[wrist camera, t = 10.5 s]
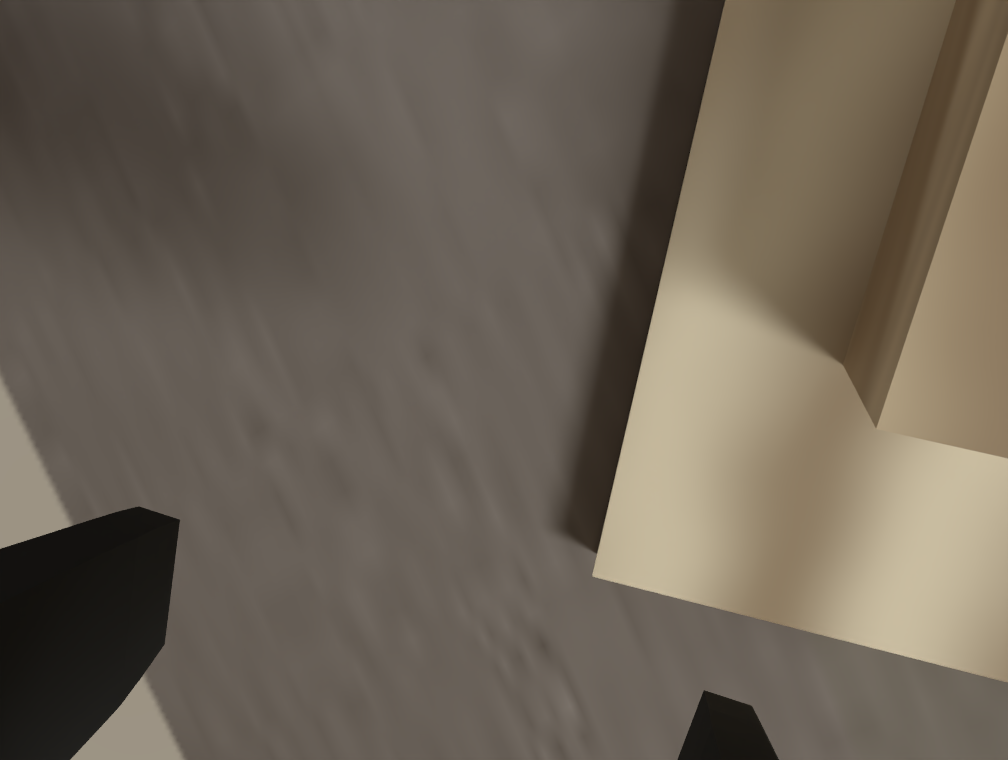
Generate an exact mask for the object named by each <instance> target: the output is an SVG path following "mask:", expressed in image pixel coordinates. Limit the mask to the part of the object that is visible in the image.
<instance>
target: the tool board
mask: <svg viewBox="0 0 1008 760" xmlns="http://www.w3.org/2000/svg"><path fill="white" fill-rule="evenodd" d="M955 2H956V0H725V3H724V7H723V12H722V16H721V20H720V25H719V29H718V33H717V38H716V42H715V46H714V51H713V55H712V59H711V63H710V68H709V72H708V76H707V81H706V85H705V89H704V94H703V98H702V102H701V107H700V111H699V115H698V120H697V124H696V128H695V133H694V137H693V141H692V146H691V150H690V154H689V159H688V163H687V167H686V172H685V176H684V180H683V185H682V189H681V193H680V198H679V202H678V206H677V210H676V215H675V219H674V223H673V228H672V232H671V236H670V241H669V245H668V249H667V254H666V258H665V262H664V267H663V271H662V275H661V280H660V284H659V288H658V293H657V297H656V301H655V306H654V310H653V314H652V319H651V323H650V327H649V332H648V336H647V340H646V345H645V349H644V353H643V357H642V362H641V366H640V370H639V375H638V379H637V383H636V388H635V392H634V396H633V401H632V405H631V409H630V414H629V418H628V422H627V427H626V431H625V435H624V440H623V444H622V448H621V453H620V457H619V461H618V466H617V470H616V474H615V479H614V483H613V487H612V492H611V496H610V500H609V504H608V509H607V513H606V517H605V522H604V526H603V530H602V535H601V539H600V543H599V548H598V552H597V556H596V561H595V566H594V570H593V575H592V576H593V577H596V578H600V579H604V580H608V581H612V582H616V583H620V584H624V585H628V586H632V587H636V588H640V589H644V590H647V591H651V592H655V593H659V594H663V595H667V596H671V597H675V598H679V599H683V600H687V601H691V602H695V603H698V604H702V605H706V606H710V607H714V608H718V609H722V610H726V611H730V612H734V613H738V614H742V615H746V616H749V617H753V618H757V619H761V620H765V621H769V622H773V623H777V624H781V625H785V626H789V627H793V628H797V629H800V630H804V631H808V632H812V633H816V634H820V635H824V636H828V637H832V638H836V639H840V640H844V641H848V642H851V643H855V644H859V645H863V646H867V647H871V648H875V649H879V650H883V651H887V652H891V653H895V654H898V655H902V656H906V657H910V658H914V659H918V660H922V661H926V662H930V663H934V664H938V665H942V666H946V667H949V668H953V669H957V670H961V671H965V672H969V673H973V674H977V675H981V676H985V677H989V678H993V679H997V680H1000V681H1004V682H1008V458H1004V457H999V456H995V455H990V454H986V453H981V452H977V451H972V450H968V449H963V448H959V447H954V446H950V445H945V444H941V443H936V442H932V441H927V440H923V439H918V438H914V437H910V436H905V435H901V434H896V433H892V432H887V431H883V430H878V429H876V428H875V426H874V424H873V422H872V420H871V418H870V416H869V414H868V412H867V410H866V409H865V407H864V405H863V403H862V401H861V399H860V397H859V395H858V393H857V391H856V389H855V387H854V385H853V384H852V382H851V380H850V378H849V376H848V374H847V372H846V370H845V368H844V366H843V362H844V359H845V356H846V353H847V349H848V346H849V343H850V340H851V337H852V333H853V330H854V327H855V324H856V320H857V317H858V314H859V311H860V308H861V304H862V301H863V298H864V295H865V291H866V288H867V285H868V282H869V279H870V275H871V272H872V269H873V266H874V262H875V259H876V256H877V253H878V250H879V246H880V243H881V240H882V237H883V234H884V230H885V227H886V224H887V221H888V217H889V214H890V211H891V208H892V205H893V201H894V198H895V195H896V192H897V188H898V185H899V182H900V179H901V176H902V172H903V169H904V166H905V163H906V159H907V156H908V153H909V150H910V147H911V143H912V140H913V137H914V134H915V131H916V127H917V124H918V121H919V118H920V114H921V111H922V108H923V105H924V102H925V98H926V95H927V92H928V89H929V85H930V82H931V79H932V76H933V73H934V69H935V66H936V63H937V60H938V57H939V53H940V50H941V47H942V44H943V40H944V37H945V34H946V31H947V28H948V24H949V21H950V18H951V15H952V11H953V8H954V5H955Z"/></svg>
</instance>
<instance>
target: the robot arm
mask: <svg viewBox="0 0 1008 760" xmlns="http://www.w3.org/2000/svg"><path fill="white" fill-rule="evenodd" d="M179 522H180V520H179V519H176V518H173V517H170V516H167V515H163V514H160V513H157V512H154V511H151V510H148V509H145V508H142V507H135V508H131V509H127V510H123V511H119V512H115V513H112V514H109V515H105V516H102V517H99V518H96V519H92V520H89V521H86V522H83V523H80V524H77V525H74V526H71V527H68V528H64V529H61V530H58V531H55V532H52V533H49V534H46V535H43V536H40V537H36V538H33V539H30V540H27V541H24V542H21V543H18V544H14V545H11V546H8V547H5V548H2V549H0V760H70V759H71V758H72V757H73V756H74V755H75V754H76V753H77V752H78V750H80V748H81V747H82V746H83V745H84V744H85V743H86V742H87V741H88V740H89V739H90V738H91V737H92V736H93V735H94V733H95V732H96V731H97V730H98V729H99V728H100V727H101V726H102V725H103V724H104V723H105V722H106V721H107V720H108V718H109V717H110V716H111V715H112V714H113V713H114V712H115V711H116V710H117V709H118V707H119V706H120V705H121V704H122V702H123V701H124V700H125V698H126V697H127V696H128V694H129V693H130V692H131V690H132V689H133V688H134V686H135V685H136V684H137V682H138V681H139V680H140V678H141V677H142V676H143V674H144V673H145V671H146V670H147V668H148V667H149V666H150V664H151V663H152V661H153V660H154V658H155V657H156V656H157V654H158V653H159V651H160V650H161V649H162V647H163V646H164V644H165V636H166V628H167V620H168V612H169V604H170V596H171V588H172V579H173V571H174V563H175V555H176V547H177V539H178V531H179ZM678 760H779V759H778V757H777V755H776V753H775V751H774V749H773V747H772V745H771V743H770V741H769V739H768V737H767V735H766V733H765V731H764V729H763V727H762V725H761V723H760V721H759V719H758V717H757V715H756V713H755V711H754V709H753V707H752V706H751V705H748V704H744V703H741V702H738V701H735V700H732V699H729V698H726V697H723V696H720V695H717V694H714V693H711V692H708V691H705V690H704V692H703V694H702V697H701V699H700V702H699V705H698V707H697V710H696V713H695V715H694V718H693V720H692V723H691V726H690V728H689V731H688V734H687V736H686V739H685V741H684V744H683V747H682V749H681V752H680V755H679V757H678Z"/></svg>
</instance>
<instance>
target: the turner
mask: <svg viewBox="0 0 1008 760" xmlns="http://www.w3.org/2000/svg"><path fill="white" fill-rule="evenodd" d="M843 366H844V368H845V370H846V372H847V374H848V376H849V378H850V380H851V382H852V384H853V385H854V387H855V389H856V391H857V393H858V395H859V397H860V399H861V401H862V403H863V405H864V407H865V409H866V410H867V412H868V414H869V416H870V418H871V420H872V422H873V424H874V426H875V428H876V429H878V430H883V431H887V432H892V433H896V434H901V435H905V436H910V437H914V438H918V439H923V440H927V441H932V442H936V443H941V444H945V445H950V446H954V447H959V448H963V449H968V450H972V451H977V452H981V453H986V454H990V455H995V456H999V457H1004V458H1008V0H956V2H955V5H954V8H953V11H952V15H951V18H950V21H949V24H948V28H947V31H946V34H945V37H944V40H943V44H942V47H941V50H940V53H939V57H938V60H937V63H936V66H935V69H934V73H933V76H932V79H931V82H930V85H929V89H928V92H927V95H926V98H925V102H924V105H923V108H922V111H921V114H920V118H919V121H918V124H917V127H916V131H915V134H914V137H913V140H912V143H911V147H910V150H909V153H908V156H907V159H906V163H905V166H904V169H903V172H902V176H901V179H900V182H899V185H898V188H897V192H896V195H895V198H894V201H893V205H892V208H891V211H890V214H889V217H888V221H887V224H886V227H885V230H884V234H883V237H882V240H881V243H880V246H879V250H878V253H877V256H876V259H875V262H874V266H873V269H872V272H871V275H870V279H869V282H868V285H867V288H866V291H865V295H864V298H863V301H862V304H861V308H860V311H859V314H858V317H857V320H856V324H855V327H854V330H853V333H852V337H851V340H850V343H849V346H848V349H847V353H846V356H845V359H844V362H843Z"/></svg>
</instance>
